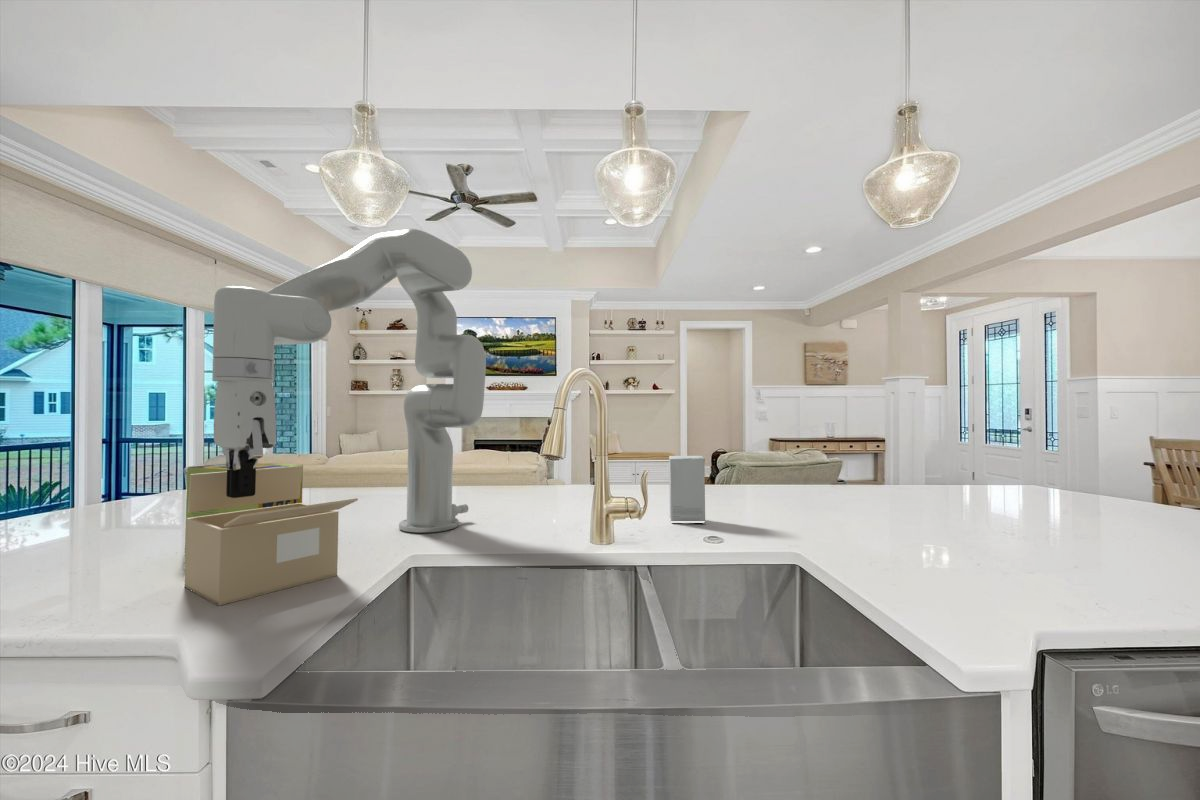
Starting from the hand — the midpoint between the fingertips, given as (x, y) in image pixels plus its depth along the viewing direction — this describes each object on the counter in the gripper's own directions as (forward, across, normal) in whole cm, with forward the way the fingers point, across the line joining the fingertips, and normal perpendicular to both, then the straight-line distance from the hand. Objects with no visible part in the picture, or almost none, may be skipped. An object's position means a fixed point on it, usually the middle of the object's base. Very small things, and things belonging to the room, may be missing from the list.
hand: (240, 496), depth 78 cm
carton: (+13, -1, -3) cm, 13 cm away
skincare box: (+13, -34, -82) cm, 89 cm away
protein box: (+13, +20, -9) cm, 26 cm away
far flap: (0, +5, -3) cm, 5 cm away
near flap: (+1, -10, -3) cm, 10 cm away
